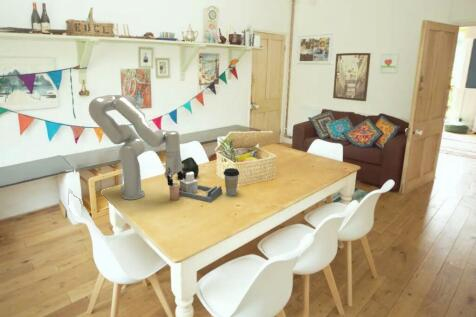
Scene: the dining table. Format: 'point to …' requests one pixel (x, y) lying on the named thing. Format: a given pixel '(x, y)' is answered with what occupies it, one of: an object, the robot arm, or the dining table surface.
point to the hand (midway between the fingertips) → (175, 182)
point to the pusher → (211, 191)
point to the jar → (174, 192)
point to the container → (188, 183)
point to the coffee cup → (231, 181)
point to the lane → (212, 197)
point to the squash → (190, 166)
